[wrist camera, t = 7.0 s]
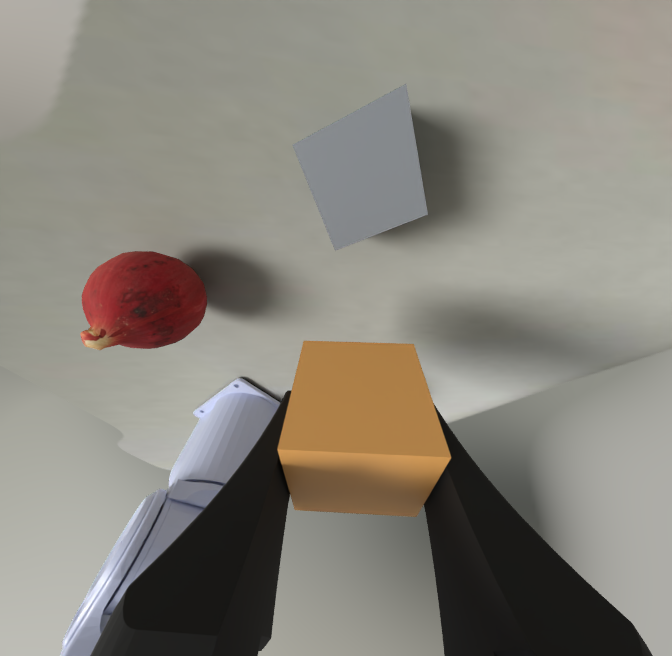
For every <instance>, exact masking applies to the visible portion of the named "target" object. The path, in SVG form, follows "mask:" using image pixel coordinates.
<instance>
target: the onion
mask: <svg viewBox="0 0 672 656" xmlns="http://www.w3.org/2000/svg"><path fill="white" fill-rule="evenodd" d="M82 305H83V310H84V313H85V316H86V318H87V321H88V323H89V324H90V326H91V327H90V328H89V330H85V331H83V332H81V338H82V341H83V343H84V345H85V347H91V348H95V349H98V350H102V349H104V348H106V347H111V346H115V345H122V346H126V347H130V348H143V349H151V348H158V347H162V346H166V345H169V344H173V343H176V342H178V341H180V340H182V339H183V338H185V337H186V336H187V335H188V334H189V333H191V332H192V331H193V330H194V329H195V328H196V327H197V326H198V325H199V324H200V323H201V321H202V319H203V317H204V314H205V310H206V306H207V296H206V291H205V287H204V283H203V282H202V281H201V279H200V278H199V276H198V275H197V274H196V272H195V271H194V270H193V269H192V268H190V267H189V266H188V265H186V264H185V263H183V262H182V261H180V260H179V259H176V258H173V257H170V256H166V255H163V254H160V253H156V252H141V251H134V252H128V253H122V254H120V255H118V256H116V257H114V258H112V259H110V260H109V261H107V262H105V263H104V264H102V265H100V266H99V267H97V268H96V269H95V271H94V272H93V273H92V274H91V275H90V277H89V279H88V281H87V283H86V285H85V287H84V290H83V293H82Z"/></svg>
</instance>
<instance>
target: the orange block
mask: <svg viewBox="0 0 672 656" xmlns="http://www.w3.org/2000/svg"><path fill="white" fill-rule="evenodd" d="M277 450H278V453H279V457H280V460H281V464H282V467H283V471H284V474H285V478H286V481H287V485H288V488H289V492H290V495H291V498H292V502H293V505H294V509H295V510H303V511H320V512H338V513H356V514H373V515H374V514H375V515H392V516H411V517H416V516H417V515H418V513H419V512H420V510H421V508H422V507H423V505H424V503H425V501H426V500H427V498H428V496H429V495H430V493H431V491H432V490H433V488H434V486H435V484H436V483H437V481H438V479H439V478H440V476H441V474H442V473H443V471H444V469H445V467H446V466H447V464H448V462H449V461H450V459H451V455H450V452H449V449H448V446H447V443H446V440H445V437H444V434H443V431H442V428H441V425H440V422H439V419H438V416H437V413H436V410H435V407H434V404H433V401H432V398H431V395H430V392H429V389H428V386H427V383H426V380H425V377H424V374H423V371H422V368H421V365H420V362H419V359H418V356H417V353H416V350H415V347H414V344H395V343H361V342H327V341H304V342H303V346H302V350H301V354H300V359H299V363H298V367H297V371H296V375H295V379H294V383H293V387H292V391H291V395H290V400H289V404H288V408H287V412H286V416H285V420H284V424H283V428H282V432H281V436H280V441H279V445H278V449H277Z"/></svg>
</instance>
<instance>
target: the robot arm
mask: <svg viewBox="0 0 672 656" xmlns="http://www.w3.org/2000/svg"><path fill="white" fill-rule="evenodd" d="M290 395H291V391H287V392H286V393H285V395H284V397H283V399H282V401H281V403H280V402H279V401H277V400H275V399H274V398H272V397H271V396H269V395H268V394H266V393H264V392H263V391H261V390H260V389H258V388H257V387H255V386H253V385H252V384H250V383H249V382H247V381H246V380H244V379H242V378H237V379H236V380H234V381H233V382H232V383H230V384H229V385H228V386H226V387H225V388H224V389H222V390H221V391H220V392H218V393H217V394H216V395H215V396H213V397H212V398H211V399H209V400H208V401H207V402H205V403H204V404H203V405H201V406H200V407H199V408H197V409H196V410H195V411H194V413H193V414H194V415H195V416H196V417H198V418H200V420H199V421H198V423H197V425H196V427H195V428H194V430H193V432H192V434H191V436H190V437H189V439H188V441H187V443H186V444H185V446H184V448H183V450H182V452H181V453H180V455H179V457H178V459H177V460H176V462H175V464H174V466H173V468H172V470H171V473H170V478H169V488H168V489H167V490H164V489H158V490H156V492H154V493H151V494H150V495H148V496H146V497H145V499H144V500H143V501H142V503H141V504H140V506H139V507H138V509H137V510H136V512H135V513H134V515H133V516H132V518H131V519H130V521H129V523H128V524H127V526H126V527H125V529H124V530H123V532H122V534H121V535H120V537H119V539H118V540H117V542H116V544H115V545H114V547H113V549H112V550H111V552H110V554H109V555H108V557H107V559H106V561H105V562H104V564H103V566H102V567H101V569H100V571H99V573H98V574H97V576H96V578H95V580H94V582H93V584H92V585H91V587H90V589H89V591H88V593H87V595H86V597H85V599H84V601H83V602H82V604H81V606H80V607H79V609H78V611H77V613H76V615H75V616H74V618H73V620H72V622H71V624H70V626H69V628H68V630H67V632H66V634H65V636H64V639H63V642H62V644H63V649H62V651H61V653H60V656H257V655H258V651H261V650H262V649H263V648H264V647H265V646H266V644H267V643H268V641H269V640H270V639H271V634H272V625H273V615H274V607H275V598H276V589H277V581H278V574H279V566H280V558H281V551H282V544H283V536H284V529H285V522H286V515H287V508H288V502H289V497H290V492H289V488H288V485H287V481H286V478H285V474H284V471H283V467H282V464H281V460H280V457H279V453H278V450H277V449H278V445H279V441H280V436H281V432H282V428H283V424H284V420H285V416H286V412H287V408H288V404H289V400H290ZM433 404H434V403H433ZM434 407H435V410H436V413H437V416H438V419H439V422H440V425H441V428H442V431H443V434H444V437H445V440H446V443H447V446H448V449H449V452H450V455H451V459H450V461H449V462H448V464H447V466H446V467H445V469H444V471H443V473H442V474H441V476H440V478H439V479H438V481H437V483H436V484H435V486H434V488H433V490H432V491H431V493H430V495H429V496H428V498H427V500H426V501H425V503H424V507H425V512H426V517H427V524H428V530H429V536H430V543H431V549H432V556H433V563H434V569H435V577H436V585H437V593H438V600H439V608H440V617H441V626H442V634H443V644H444V654H445V656H652V654H651V652H650V650H649V649H648V647H647V645H646V644H645V642H644V641H643V639H642V638H641V636H640V635H639V633H638V632H637V630H636V629H635V627H634V625H633V624H632V623H631V622H630V621H629V620H628V619H627V618H626V617H625V616H623V615H622V614H621V613H620V612H619V611H618V610H617V609H616V608H615V607H614V606H613V605H611V604H610V603H609V602H608V601H607V600H606V599H605V598H604V597H603V596H601V595H600V594H599V593H598V592H597V591H596V590H595V589H594V588H593V587H592V586H591V585H590V584H588V583H587V582H586V581H585V580H584V579H583V578H582V577H581V576H580V575H579V574H578V573H577V572H576V571H575V570H574V569H573V568H572V567H571V566H570V565H569V564H568V563H567V562H565V560H563V559H562V558H561V557H560V556H559V555H558V554H557V553H556V552H555V551H554V550H553V549H552V548H551V547H550V546H549V545H548V544H547V543H546V542H545V541H544V540H543V539H542V538H541V536H539V535H538V533H537V532H536V531H535V530H534V529H533V528H532V527H531V526H530V525H529V524H528V523H527V522H526V521H525V520H524V519H523V518H522V517H521V516H520V515H519V514H518V513H517V511H516V510H515V509H514V508H513V507H512V506H511V505H510V504H509V503H508V502H507V501H506V499H505V498H504V497H503V496H502V495H501V494H500V493H499V491H498V490H497V489H496V488H495V487H494V486H493V484H492V483H491V482H490V481H489V480H488V478H487V477H486V476H485V475H484V473H483V472H482V471H481V470H480V468H479V467H478V466H477V465H476V463H475V462H474V461H473V460H472V458H471V457H470V456H469V454H468V453H467V452H466V450H465V449H464V448H463V446H462V445H461V443H460V442H459V441H458V439H457V438H456V436H455V435H454V434H453V432H452V431H451V429H450V428H449V426H448V425H447V423H446V422H445V420H444V419H443V417H442V416H441V414H440V413H439V411H438V410H437V408H436V406H435V405H434Z"/></svg>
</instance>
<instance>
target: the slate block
mask: <svg viewBox="0 0 672 656" xmlns="http://www.w3.org/2000/svg"><path fill="white" fill-rule="evenodd" d="M293 148H294V150H295V153H296V155H297V158H298V160H299V163H300V165H301V168H302V170H303V172H304V175H305V177H306V180H307V182H308V185H309V187H310V190H311V192H312V195H313V197H314V200H315V202H316V205H317V207H318V210H319V212H320V214H321V217H322V219H323V222H324V224H325V227H326V229H327V232H328V234H329V237H330V239H331V242H332V244H333V247H334V249H335V250H338V249H341V248H343V247H346V246H348V245H351V244H353V243H356V242H359V241H361V240H364V239H366V238H369V237H371V236H374V235H377V234H379V233H382V232H384V231H387V230H389V229H392V228H395V227H397V226H400V225H402V224H405V223H407V222H410V221H413V220H415V219H418V218H420V217H423V216H425V215H428V212H427V206H426V200H425V194H424V188H423V182H422V176H421V170H420V164H419V158H418V152H417V146H416V140H415V134H414V128H413V122H412V116H411V110H410V104H409V98H408V92H407V86H406V84H405V85H403V86H401V87H399V88H397V89H395V90H393V91H392V92H390V93H388V94H386V95H384V96H382V97H380V98H379V99H377V100H375V101H373V102H371V103H369V104H367V105H366V106H364V107H362V108H360V109H358V110H356V111H354V112H353V113H351V114H349V115H347V116H345V117H343V118H341V119H340V120H338V121H336V122H334V123H332V124H330V125H328V126H327V127H325V128H323V129H321V130H319V131H317V132H315V133H314V134H312V135H310V136H308V137H306V138H304V139H302V140H301V141H299V142H297V143H295V144H293Z"/></svg>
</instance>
